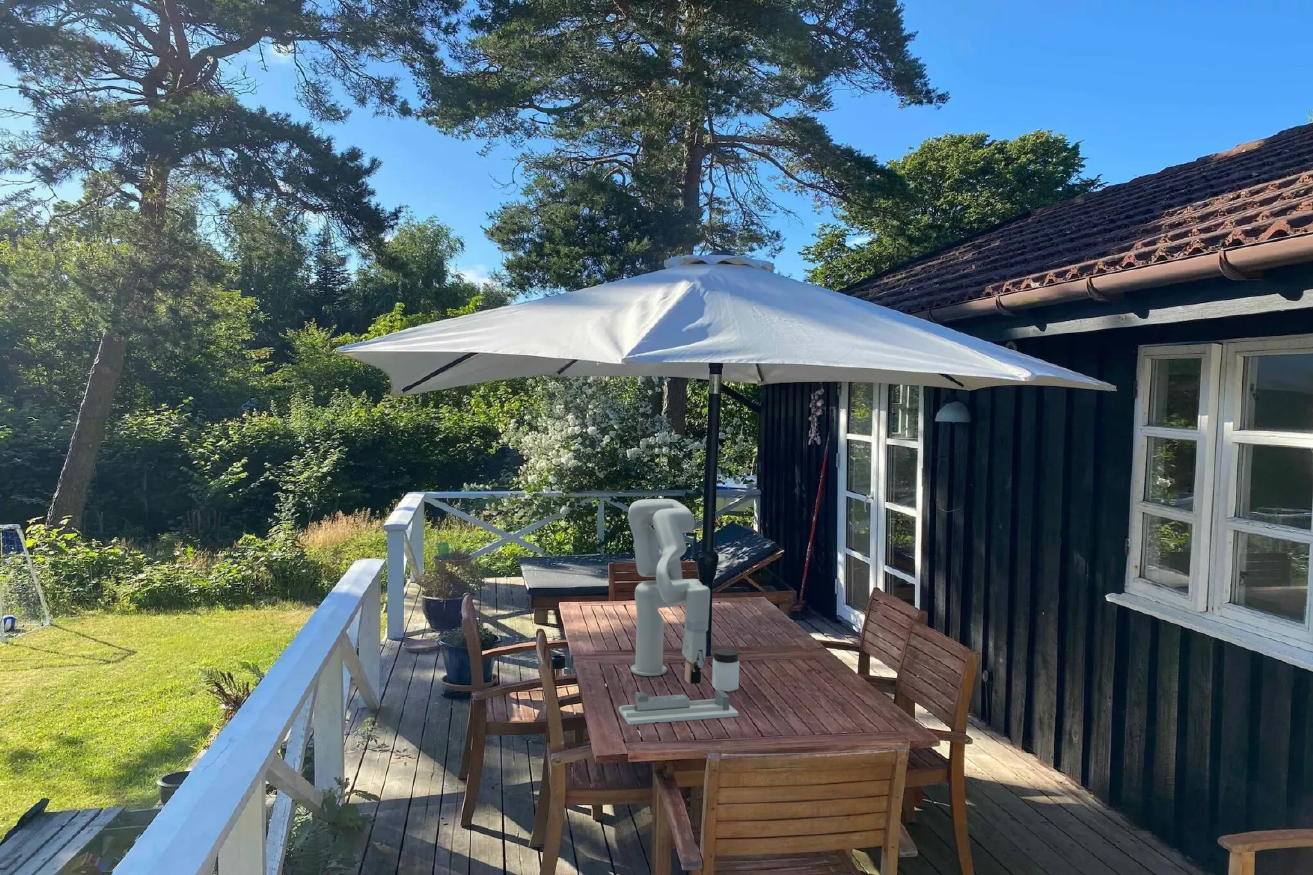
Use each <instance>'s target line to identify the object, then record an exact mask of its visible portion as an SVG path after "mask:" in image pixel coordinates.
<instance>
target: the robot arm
mask: <svg viewBox="0 0 1313 875" xmlns="http://www.w3.org/2000/svg"><path fill="white" fill-rule="evenodd" d="M627 512H628V513H627V514H628V515H627V517H628V519H627V520H628V525H629V528H630V530H631V534H632V538H633V544H634V546H633V547H634V554H635V565H636V566H635V567H636V570H637V573H638V575H639V576H641V577H643V578H653V577H654V578H655V580H648V581H647V580H645V581H642V582H640V583H638V584H637V586H635V590H634V601H635V608H636V629H635V630H636V631H635V632H636V633H635V636H636V637H635V658H634V661H635V664H632V665H631V666H630V672H631V673H632V674H635V675H636V676H637V675H638V676H643V677H658V676H661V675H662V676H663V675H664V674H667V671H668V670H667V669H668V668H667V667H666V665H664V664H663V660H664V659H663V657H664V634H665V633H664V629H665V627H664V626H665V625H664V624H665V621H664V619H663V616H662V614H661V613H660V612H659V609H663V608H673V607H679V606H680V605H682V604H685V611H684V625H683V626H684V630H683V636H682V637H683V638H682V647H681V648H682V649H681V654H682V656H683V657H684V658H685V662H686V661H689V662H690V663H692V671H691V681H690V683H691V684H692V685H695V684H696V685H698V684H701V683H702V678H701V671H702V672H703V667H704V662H706V655H707V632H708V630H709V617H710V601H711V589H710V587H708V586H707V585H703V583H702V582H701V581H700V580H699V579H697V578H683V571H682V563H681V557H682V556H683V555H685V553H686V552H687V545H686V541H685V538H684V534H685V533H691V532H692V531H693V530H694V528H695V516H694V515H693V513H692V511H691V510H690V509H689V508H688V507H687V506H686V505H684V504H682V503H681V502H679V501H677V500H675V499H671V498H655V499H654V498H649V499H646V498H645V499H639V500H635V501H634V502H632V503H631V504H630V506H629V508H628V511H627ZM650 524H653V527H654V528H653V527H652V526H651V525H650ZM696 660H698V661H696ZM695 664H698V665H696V666H695ZM700 682H701V683H700ZM691 684H690V685H691Z"/></svg>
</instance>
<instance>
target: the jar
mask: <svg viewBox="0 0 1313 875" xmlns="http://www.w3.org/2000/svg"><path fill="white" fill-rule="evenodd" d="M739 653H740V652H739V651H737V650H735V649H732V648H718V649H715V650H714V651H713V658H712V669H711V670H712V671H711V674H712V675H711V676H712V677H711V685H712V688H714V690H722V691H723V692H726V691H727V692H728V693H729V692H733V691H737V690H739V685H740V684H739V682H740V680H739V679H740V661H739Z"/></svg>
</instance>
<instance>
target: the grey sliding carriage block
mask: <svg viewBox="0 0 1313 875" xmlns="http://www.w3.org/2000/svg"><path fill="white" fill-rule="evenodd" d="M690 701H691V698H690V697H689V696H688V695H687V694H686V693H683V694H670V695H657V696H656V695H654V696H649V695H648V694H647V693H646V692H645V691H637V692H634V705H635V711H636V712H641V711H655V710H668V709H682V708H689V707H690Z"/></svg>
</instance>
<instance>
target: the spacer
mask: <svg viewBox="0 0 1313 875" xmlns="http://www.w3.org/2000/svg"><path fill="white" fill-rule="evenodd" d="M696 661H698V660H696ZM684 665H685V667H684V677H683V678H684V681H685V682H687V684H688V685H691V683H690V681H691V671H692V663H690V662H689V661H686V660H685V664H684ZM696 665H698V664H695V666H696ZM702 675H703V670H702V671H701V679H702ZM700 684H702V681H701V682H700Z"/></svg>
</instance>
